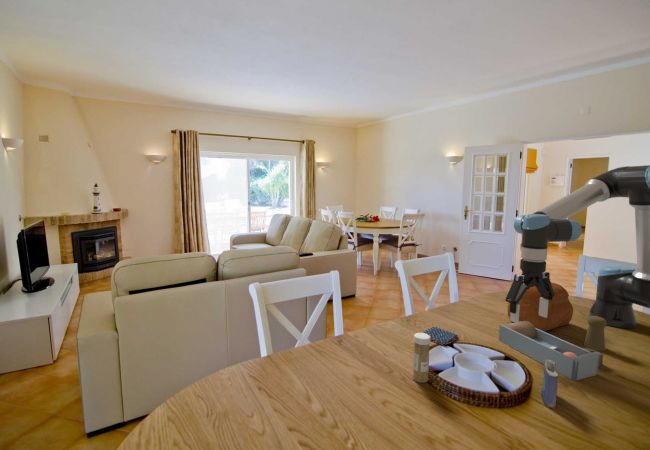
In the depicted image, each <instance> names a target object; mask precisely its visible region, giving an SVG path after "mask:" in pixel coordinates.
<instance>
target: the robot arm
mask: <svg viewBox="0 0 650 450" xmlns="http://www.w3.org/2000/svg"><path fill="white" fill-rule="evenodd" d="M613 198H628V205H629V206H631V207H633V208H634V220H635V241H636V242H635V245H636V265H637V267H636V268H637V269H636V268H633V267H626V266H602V267H600V268H599V271H598V275H597V285H596V293H595V295H596V296H595V301H594V302H593V304H592V306H591V307H590V309H589V311H588V318H589V317H590V316H598V317H601V318H604V319H605V320H606V323H607V325H606V326H609V327H615V328H620V329H621V328H622V329H624V328H625V329H631V328H635V327H636V326H637V318H636V315H635V312H634V308H633V304H634V305H638V306H640V307H644V308H646V309H649V310H650V164H649V165H646V164H645V165H633V166H629V165H628V166H620V167H616V168H614V169H611V170H608V171H606V172H603V173H601V174H599V175H597V176H594V177H593V178H591V179H589V180H587V181H586V182H585V184H584V185H583V186H582V187H580V188H578V189H576V190H574V191H572V192H571V193H569V194H567V195H565V196H563V197H561V198H560V199H557V200H556V201H554V202H552V203H550V204H548V205H546V206H545V207H542V208H541V209H539V210H537V211H536V212H532V213H528V214H523V215H522V214H521V215H519V216H517V217H516V218H515V219H514V222H513V228H514V230H515V232H516V233H518V234H521V249H520V250H521V251H520V258H521V259H520V260H519V269H520V270H521V274H516V273H515V274H514V276H513V281H512V283H511V286H510V288H509V290H508V292H507V294H506V297H505V302H507V303H510V319H509V322H512V323H514V322H515V323H518V322H519V308H520V305H519V304H518V303H519V301H520V300H521V298H522V297H523V295H524V293H525V292H526V290H527V289H529V288H530V287H533V286H536V288H537V289H538V291H539V293H540V294H541V296H542V297H543V298H542V297H541V298H540V303H539V315H540V316H542V317H545V318H547V314H548V306H549V299H550V300H552V299H553V297H554V291H553V288H552V285H551V282H552V281H551V279H550V276H551V274H550V273H551V272H548V271H546V269H547V261H546V260H547V259H548V248H549V247H548V246H549V243H553V242H555V243H556V242H564V243H565V242H566V243H569V242H572V241H577V240H578V239H579V238H580V237H581V235H582V232H583V231H582V226H581V223H579V222H578V221H577V220H576V219H568V218H571V217H572V216H575V214H577V213H579V212H581V211H583V210H585V209H586V208H588V207H590V206H592V205H594V204H596V203H598V202H601V203H602V202H605V201H607V200H609V199H613ZM524 284H525V285H524ZM515 299H516V300H515Z"/></svg>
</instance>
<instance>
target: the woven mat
mask: <svg viewBox="0 0 650 450" xmlns="http://www.w3.org/2000/svg"><path fill="white" fill-rule="evenodd" d="M422 333H425V334H428V335H429V336H430V342H431V343H435V344H438V345H440V344H444V343H445V344H446V343H449V342H452V343H453V342H455V341H457V340H458V339H459V338H460V337H459V334H457V333H455V332H451V331H448V330H445V329H443V328H440V327H437V326H432V327H430V328H428V329H427V330H425V331H423V332H422Z"/></svg>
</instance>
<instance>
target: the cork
mask: <svg viewBox="0 0 650 450" xmlns="http://www.w3.org/2000/svg"><path fill="white" fill-rule="evenodd" d="M587 324H588V328H587V331H586V335H585V338H584V341H583V346H584V347H585V348H587V349H588V350H591V349H592V350H595V351H597V352H605V351H606V338H605V328H606V327H607V326H608V325H607V323H606V320H605V319H604V318H601V317H598V316H590V317H589V316H588V317H587Z"/></svg>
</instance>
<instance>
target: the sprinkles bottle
mask: <svg viewBox="0 0 650 450" xmlns="http://www.w3.org/2000/svg"><path fill="white" fill-rule="evenodd" d="M413 343H414V344H413V347H414V348H413V364H412V366H413V371H412V373H413V374H412V379H413V380H414V381H415V382H418V383H424V384H425V383H427V382H428V381H429V365H430V344H431V341H430V336H429V335H428V334H425V333H423V332H416V333H414V335H413Z"/></svg>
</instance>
